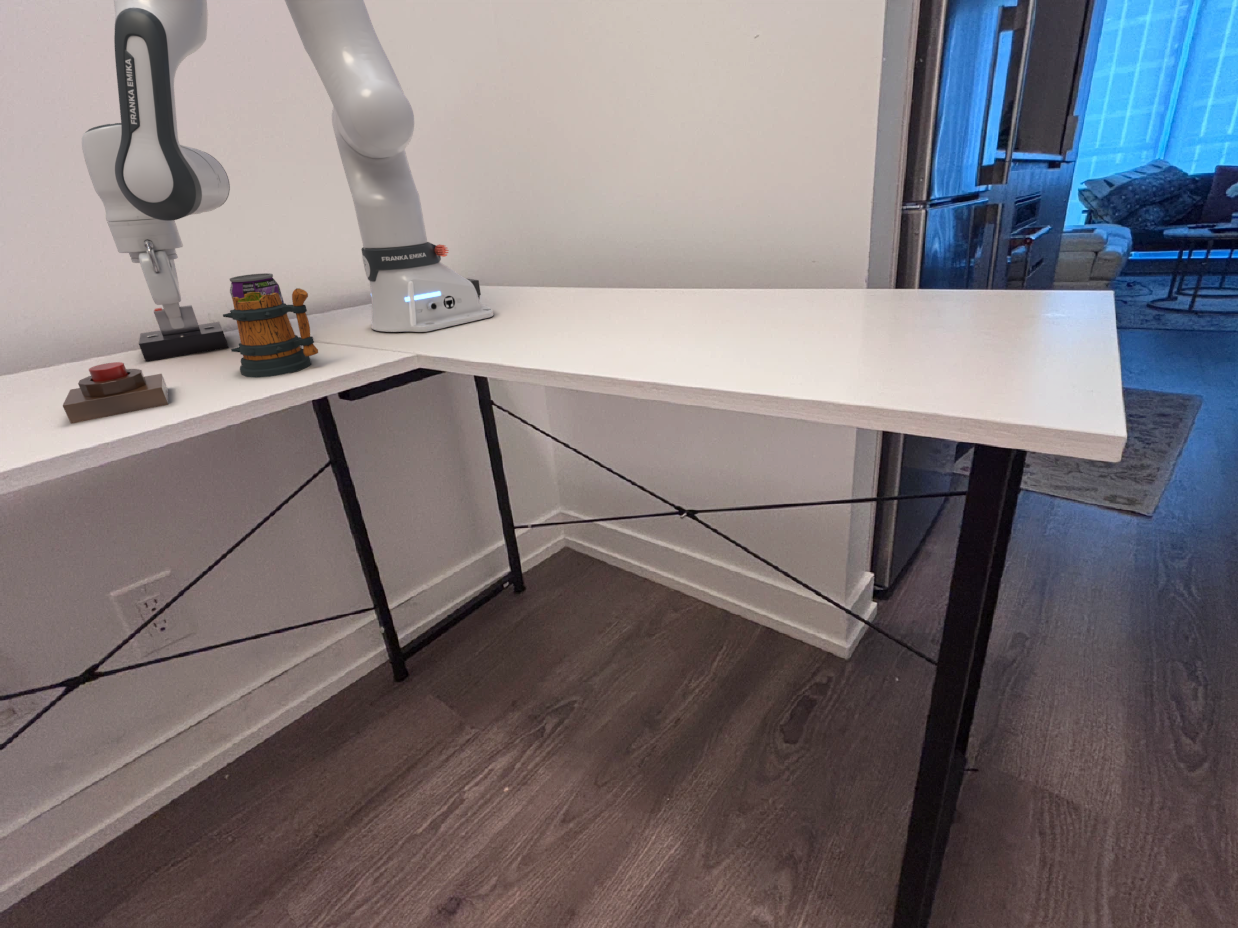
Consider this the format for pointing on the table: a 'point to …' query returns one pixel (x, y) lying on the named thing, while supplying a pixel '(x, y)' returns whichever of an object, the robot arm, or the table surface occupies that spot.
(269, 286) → the beverage can
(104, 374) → the button
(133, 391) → the block
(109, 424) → the table surface
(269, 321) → the mug
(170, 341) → the black flat block
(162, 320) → the tilted grey flap
